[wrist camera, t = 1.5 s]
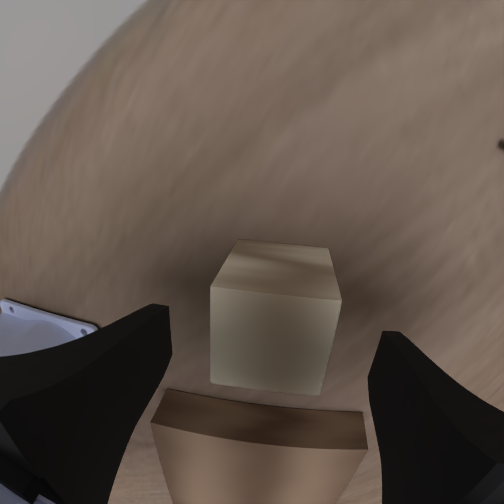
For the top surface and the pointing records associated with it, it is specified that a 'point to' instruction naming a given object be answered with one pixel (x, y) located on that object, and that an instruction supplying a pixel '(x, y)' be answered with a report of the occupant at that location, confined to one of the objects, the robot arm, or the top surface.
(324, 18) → the top surface
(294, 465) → the walnut plinth
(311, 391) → the birch block
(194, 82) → the top surface
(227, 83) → the top surface
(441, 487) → the robot arm
